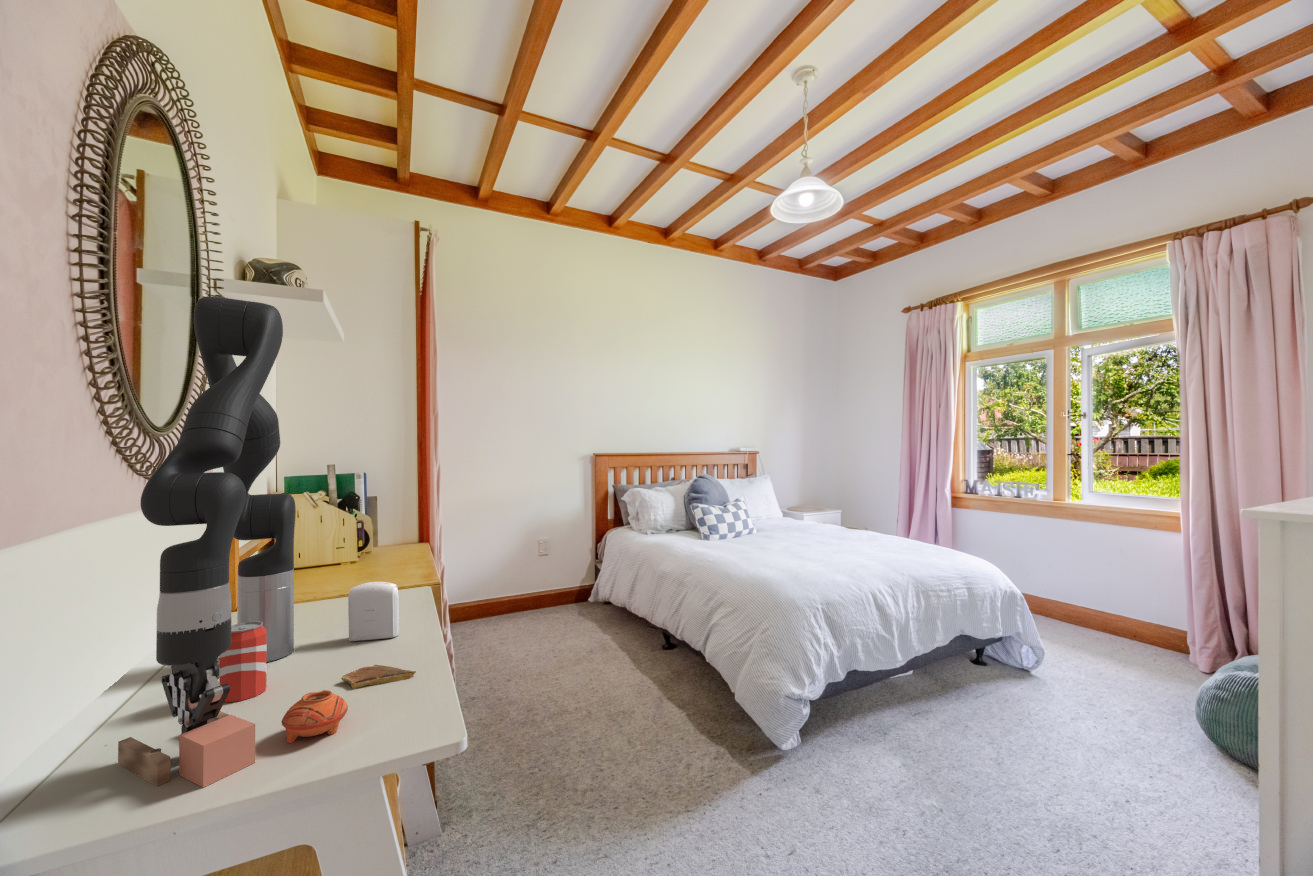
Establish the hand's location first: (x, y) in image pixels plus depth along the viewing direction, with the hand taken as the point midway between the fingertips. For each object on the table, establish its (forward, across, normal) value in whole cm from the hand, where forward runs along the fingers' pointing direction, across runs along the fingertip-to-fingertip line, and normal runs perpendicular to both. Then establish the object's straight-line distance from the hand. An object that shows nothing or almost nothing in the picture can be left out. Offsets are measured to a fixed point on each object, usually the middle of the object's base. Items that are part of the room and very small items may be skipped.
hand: (194, 750), depth 69 cm
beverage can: (+2, -15, +13) cm, 20 cm away
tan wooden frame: (+1, 0, 0) cm, 1 cm away
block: (+1, +6, 0) cm, 6 cm away
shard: (+2, -1, +28) cm, 28 cm away
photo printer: (+2, -21, +41) cm, 46 cm away
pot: (+2, +9, +10) cm, 14 cm away
